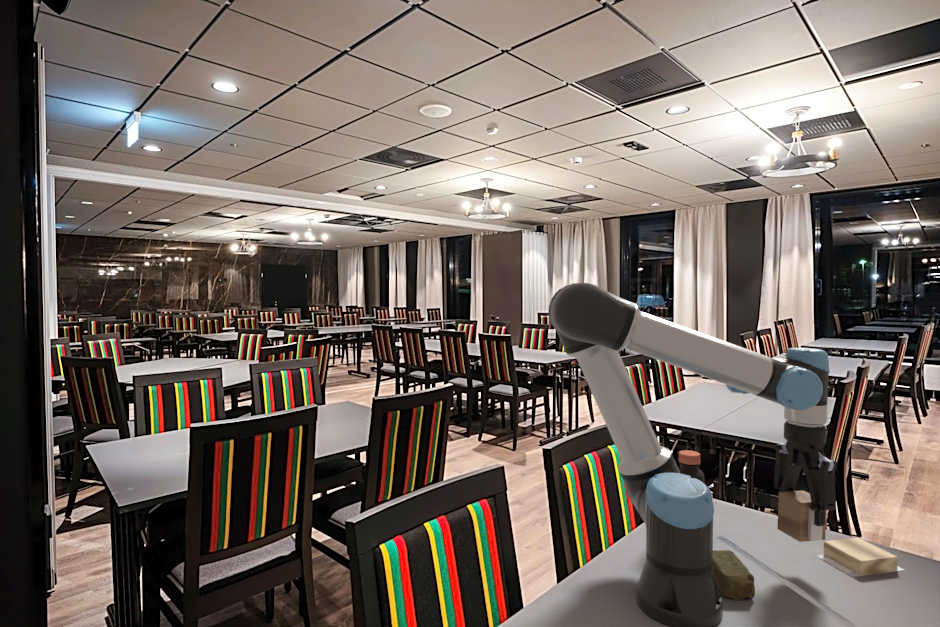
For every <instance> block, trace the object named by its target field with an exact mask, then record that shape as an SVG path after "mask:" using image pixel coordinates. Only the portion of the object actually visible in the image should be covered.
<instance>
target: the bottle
mask: <svg viewBox="0 0 940 627" xmlns="http://www.w3.org/2000/svg"><path fill="white" fill-rule="evenodd" d="M678 464H679V467H678V469H679V471H680V473H681V474H684V475H688V476H691V478H696V479H698V480H700V481H701V482H703V483H704V484H705V473H704V472H703V471H702V470H701V469H700V468H699V467H700V466H701V453H699V451H694V450H688V449H685V450H683V449H682V450H680V451H678Z"/></svg>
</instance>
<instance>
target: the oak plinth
mask: <svg viewBox="0 0 940 627" xmlns="http://www.w3.org/2000/svg"><path fill="white" fill-rule="evenodd" d="M823 555H825V556H827V557H829V558H830V559H832V560H834V561H836V562H837V563H839V564H841V565H843V566H845V567H846V568H848V569H850V570H852V571H853V572H855V573H857V574H859V575H861V576H860V577H862V575H864V576H871V575H870V574H872V575H878V573H880V574H887V573H894V572H893V571H895V572H898V571H897V566H898V556H897V555H895V554H893V553H890V552H888V551H886V550H884V549H883V548H880V547H879V546H876V545H874V544H872V543H870V542H868V541H866V540H864V539H861V538H860V537H852V538H851V537H850V538H843V539H835V540H834V539H832V540H823ZM886 572H887V573H886Z"/></svg>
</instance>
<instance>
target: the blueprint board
mask: <svg viewBox="0 0 940 627" xmlns="http://www.w3.org/2000/svg"><path fill="white" fill-rule="evenodd" d="M816 557H817V558H819V559H820V560H822V561H824V562H826V563H828V564H829V565H831V566H833V567H834V568H837V570H840V571H842V572H843V573H844V574H846V575H849V576H850V577H853V578H854V577H862V576H863V577H864V576H865V575H862V576H861V575H859V574H857V573H855V572H853V571H852V570H850V569H848V568H846V567H845V566H843V565H841V564H839V563H837V562H836V561H834V560H832V559H830V558H829V557H827V556H825V555H824V554H819V555H816ZM902 571H905V569H904V568H902V567H900V566H899V565H897V571H893V572H892V573H894V572H895V573H896V572H902ZM887 573H888V572H886V573H885V574H887ZM878 574H880V575H881V573H878ZM878 574H877V575H878ZM871 575H873V574H870V575H869V576H871Z"/></svg>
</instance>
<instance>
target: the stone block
mask: <svg viewBox="0 0 940 627" xmlns="http://www.w3.org/2000/svg"><path fill="white" fill-rule="evenodd" d="M712 570H713V574H714V577H715V580H716V583H717V586H718V589H719V592H720V594H722V595H723V597H724V598H725V599H727V598H728V599H729V598H730V599H733V600H737V601H738V600H744V599H745V598H749V599H754V598H755V595H756V587H755V577H754V575H753V574H752V573H751V571H750V570H749V568H748V567H746V565H745V564H744V563H743V562H742V561H741V559H740V558H739V557H738V556H737V555H736V554H735V553H734V552H733V551H732V550H729V549H726V550H723V549H722V550H717V549H716V550H714V549H713V560H712Z"/></svg>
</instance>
